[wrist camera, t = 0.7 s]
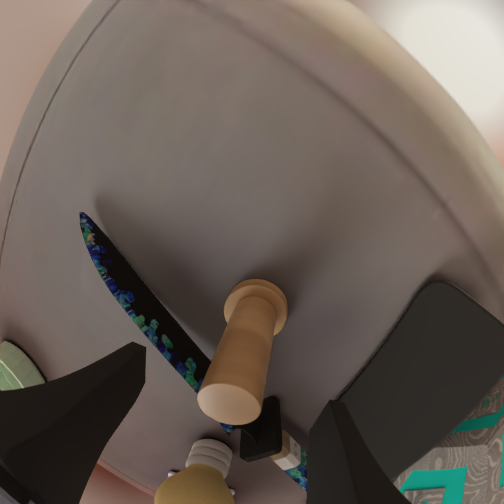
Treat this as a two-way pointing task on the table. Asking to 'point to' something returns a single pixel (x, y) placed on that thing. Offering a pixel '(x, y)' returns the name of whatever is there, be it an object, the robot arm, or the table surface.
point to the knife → (189, 354)
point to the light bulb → (200, 477)
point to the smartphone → (426, 376)
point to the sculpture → (463, 461)
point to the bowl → (17, 368)
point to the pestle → (243, 353)
